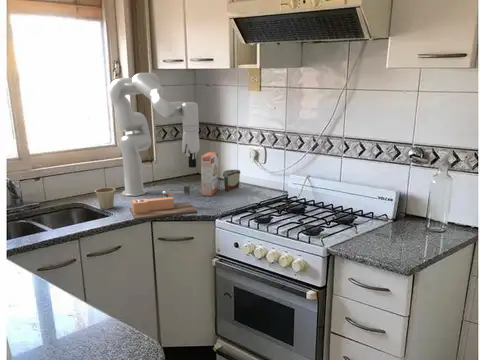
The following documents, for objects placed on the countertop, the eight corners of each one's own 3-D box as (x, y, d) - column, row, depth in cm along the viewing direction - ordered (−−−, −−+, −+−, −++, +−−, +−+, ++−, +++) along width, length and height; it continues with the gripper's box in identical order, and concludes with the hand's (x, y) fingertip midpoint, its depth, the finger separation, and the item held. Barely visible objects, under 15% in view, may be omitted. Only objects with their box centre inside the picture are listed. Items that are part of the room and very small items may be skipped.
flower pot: (99, 211, 219) (98, 193, 217) (93, 206, 226) (92, 189, 224) (119, 208, 224) (118, 190, 222) (113, 203, 231) (111, 186, 229)
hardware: (137, 210, 216) (136, 199, 215) (167, 203, 226) (166, 193, 225) (139, 211, 214) (138, 200, 213) (170, 204, 224) (169, 194, 223)
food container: (231, 186, 264) (231, 168, 262) (240, 187, 261) (240, 169, 258) (218, 190, 254) (217, 172, 252) (227, 192, 251) (226, 173, 249)
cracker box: (212, 196, 243) (211, 156, 238) (201, 195, 244) (200, 156, 239) (219, 189, 256) (218, 151, 251) (208, 189, 257) (207, 151, 253)
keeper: (161, 195, 222) (161, 186, 221) (163, 193, 225) (163, 184, 224) (189, 195, 221) (188, 186, 220) (190, 193, 224) (190, 185, 223)
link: (134, 213, 212) (133, 203, 211) (132, 209, 217) (131, 200, 216) (174, 208, 218) (174, 199, 217) (171, 205, 223) (171, 196, 222)
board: (130, 210, 220) (129, 208, 220) (188, 203, 229) (188, 201, 229) (134, 219, 205) (134, 217, 205) (196, 212, 214) (196, 210, 214)
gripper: (190, 127, 230) (192, 164, 233) (176, 130, 216) (178, 169, 220) (204, 127, 227) (205, 164, 231) (191, 130, 213) (193, 170, 217)
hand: (192, 167), depth 225 cm, fingers closed
